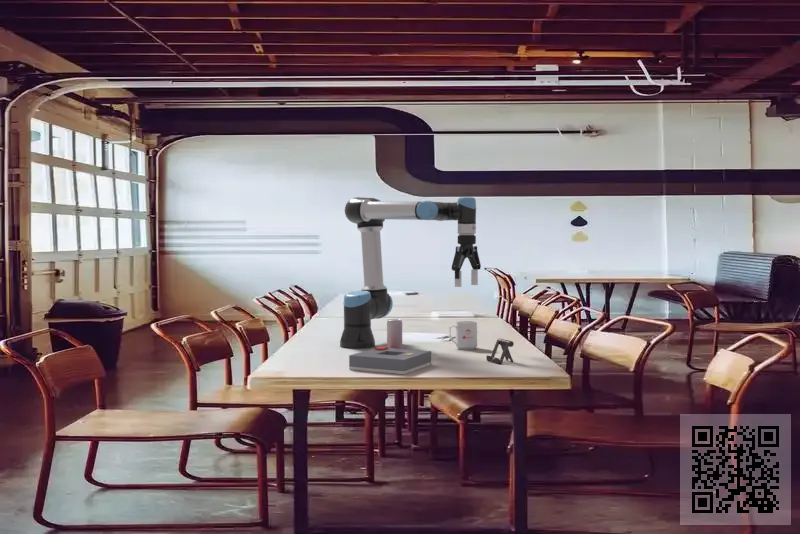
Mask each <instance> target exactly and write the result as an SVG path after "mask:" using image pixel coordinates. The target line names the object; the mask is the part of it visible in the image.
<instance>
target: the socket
mask: <svg viewBox="0 0 800 534" xmlns="http://www.w3.org/2000/svg"><path fill="white" fill-rule="evenodd" d="M348 364H349V365H348V367H349V368H348V369H349V370H353V371H354V370H355V371H364V372H376V373H386V374H395V375H396V374H397V375H405V374H409V373H411V372H414V371H417V370H420V369H422V368H423V369H424V368H426V367H428V366H431V365H432V351H431V350H423V349H422V350H421V349H411V348H410V349H407V348H402V349H396V348H388V347H387V345H386V346H382V345H381V346H376V347H375V348H371V349H368V350H364V351H361V352H357V353H354V354H350V355H348Z"/></svg>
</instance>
